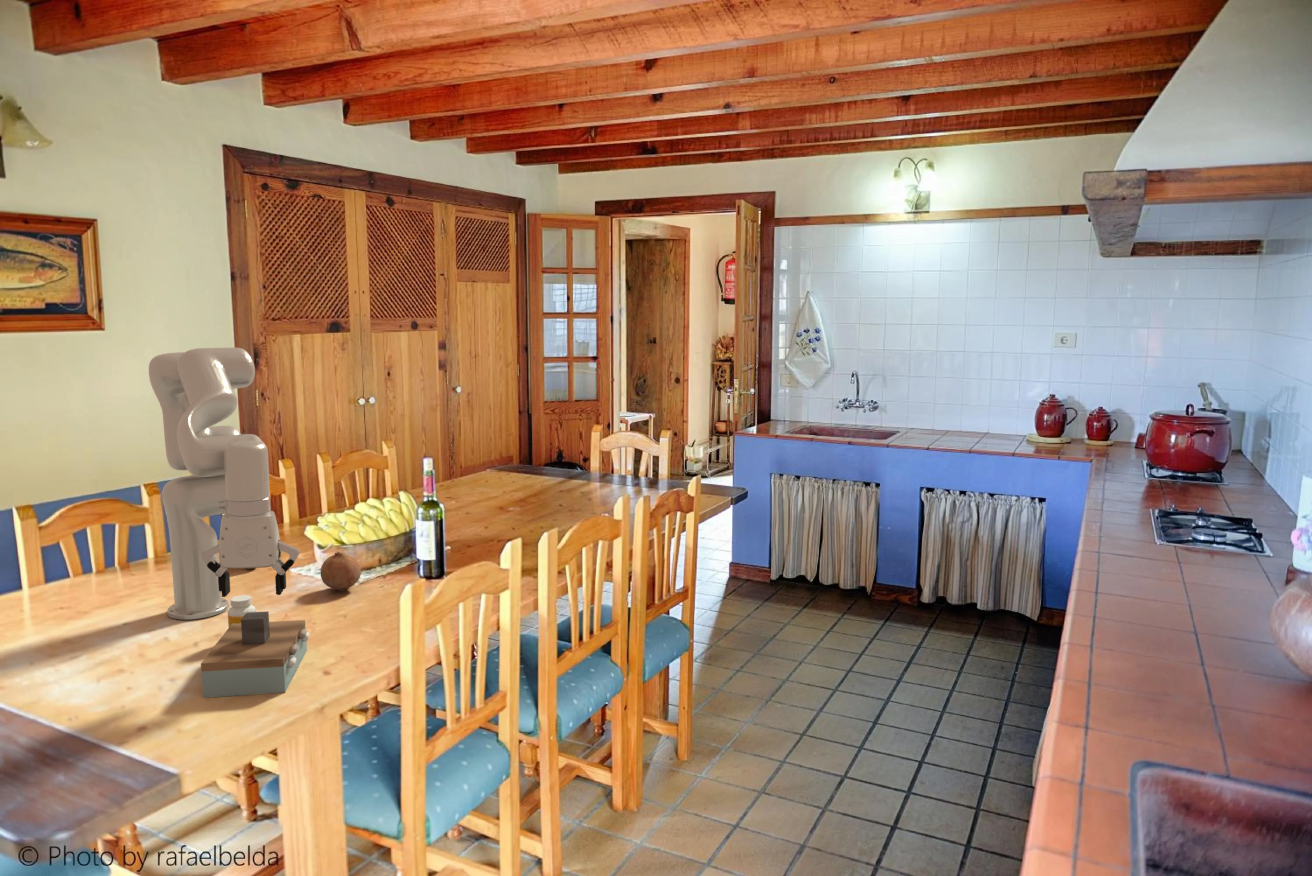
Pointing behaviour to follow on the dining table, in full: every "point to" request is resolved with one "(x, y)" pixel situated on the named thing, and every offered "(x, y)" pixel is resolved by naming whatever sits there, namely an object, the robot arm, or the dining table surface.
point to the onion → (340, 572)
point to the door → (255, 643)
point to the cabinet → (253, 677)
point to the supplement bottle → (239, 608)
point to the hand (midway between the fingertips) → (253, 593)
